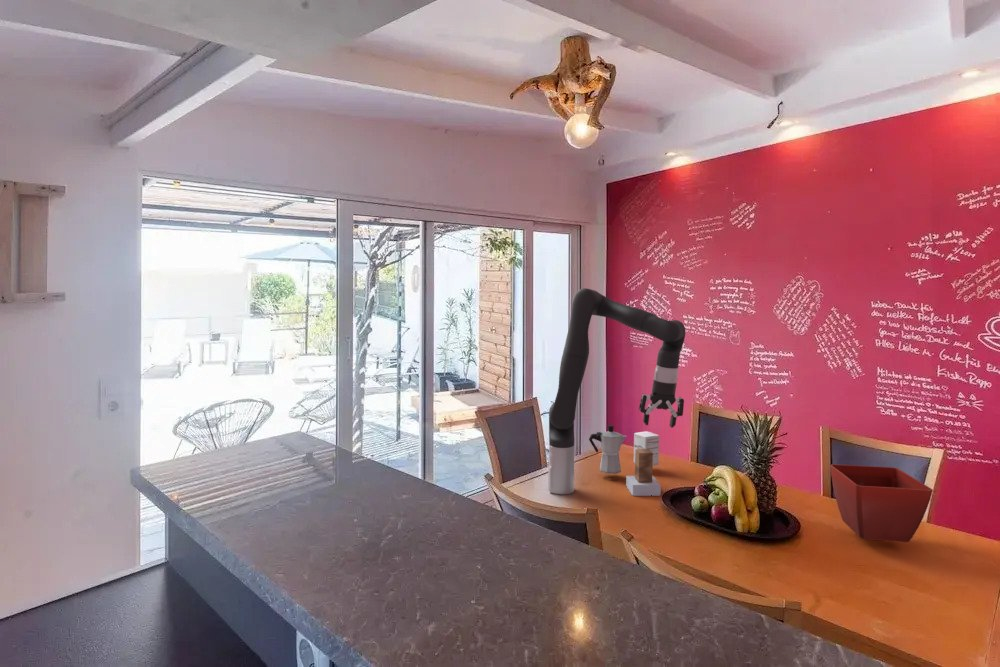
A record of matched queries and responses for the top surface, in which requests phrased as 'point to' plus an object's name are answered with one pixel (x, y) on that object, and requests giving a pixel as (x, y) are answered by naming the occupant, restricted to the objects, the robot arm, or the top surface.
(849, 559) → the top surface
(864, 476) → the plant pot
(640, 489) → the stand
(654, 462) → the supplement box
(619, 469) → the coffee maker
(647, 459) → the walnut block
